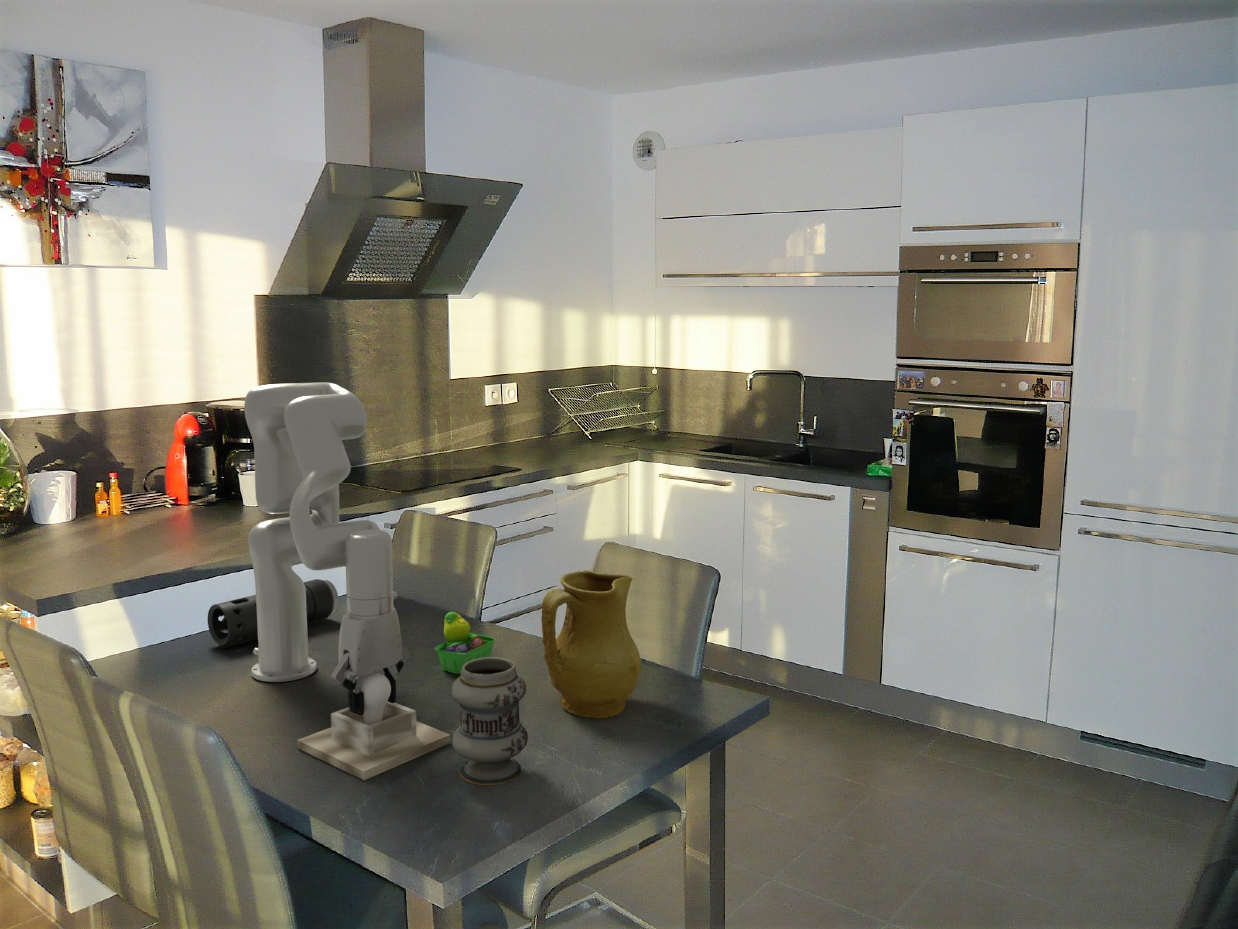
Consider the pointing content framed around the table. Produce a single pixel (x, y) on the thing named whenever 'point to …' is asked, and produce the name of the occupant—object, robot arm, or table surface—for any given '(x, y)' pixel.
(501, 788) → the table surface
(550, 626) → the pitcher
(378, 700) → the lightbulb
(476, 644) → the fruit basket
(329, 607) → the muzzle brake
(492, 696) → the apothecary jar
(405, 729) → the socket
